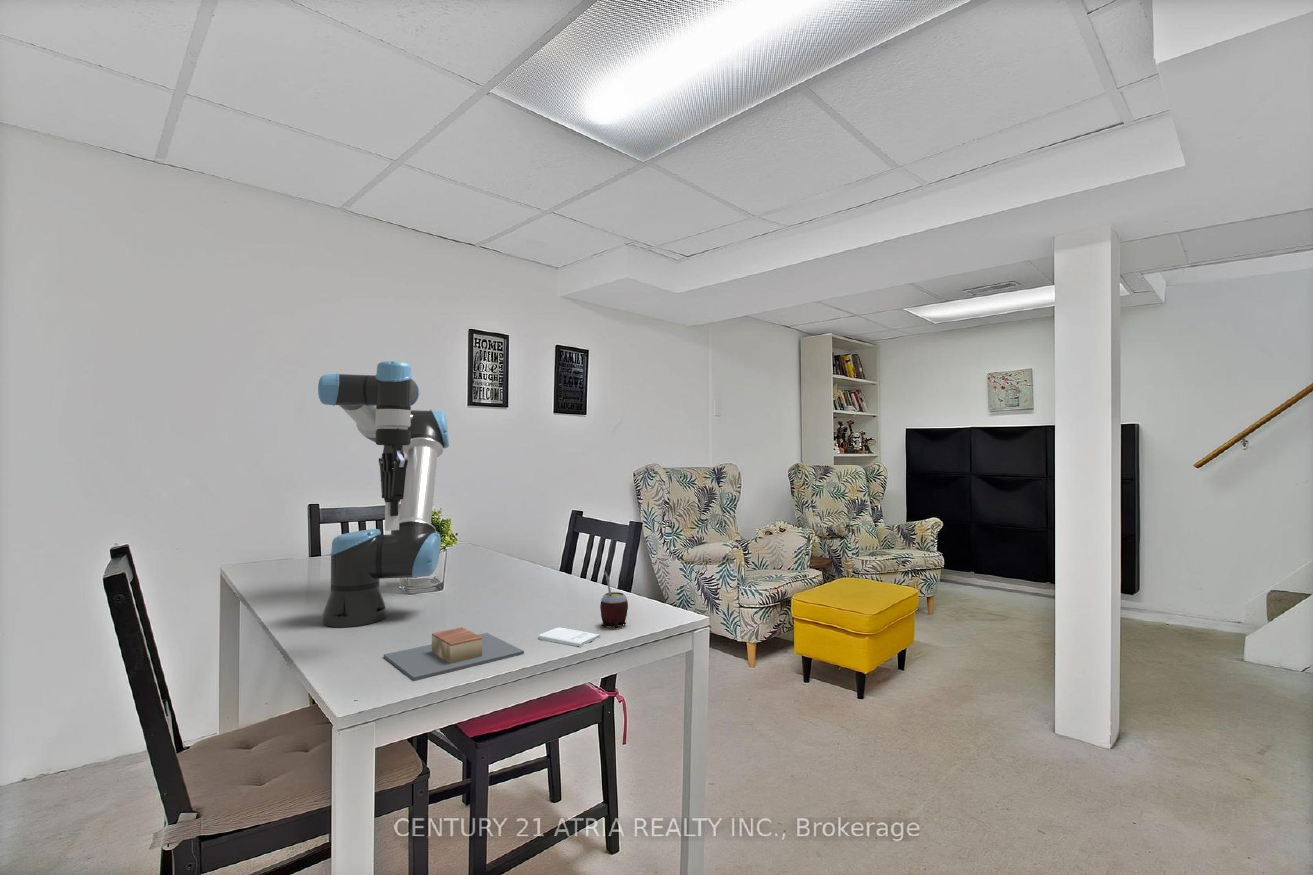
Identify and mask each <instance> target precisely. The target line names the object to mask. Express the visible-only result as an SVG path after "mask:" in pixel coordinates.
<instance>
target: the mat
mask: <svg viewBox="0 0 1313 875" xmlns="http://www.w3.org/2000/svg"><path fill="white" fill-rule="evenodd" d="M478 635H479V636H480V637H482V656H481V657H476V658H472V659H468V660H463V661H459V662H455V663H451V664H450V663H449V662H447V661H446V660H444V659H442V658H441V657H439V656H438V655H436V654H435V653H433V652H432V643H431V644H428V645H422V646H418V647H417V646H416V647H414V648H408V649H404V650H398V651H393V652H389V653H384V654H383V658H384V659H385V660H387V662H389V663H390V664H391V665H393V666H395V668H397V669H398V670H399V671H401V672H402V673H404V675H406V676H407V677H409V678H410V679H411V680H413V681H418V680H423V679H427V678H430V677H436V676H439V675H443V674H447V673H451V672H455V671H460V670H463V669H467V668H471V667H476V666H479V665H483V664H488V663H491V662H492V663H493V662H496V661H499V660H504V659H508V658H512V657H516V656H520V655H524V654H525V650H524V649H521V648H519V647H517V646H515V645H512V644H511V643H509V642H506V641H505V640H502V639H501V638H499V637H496V636H494V635H493V634H490V633H488V632H485V633H480V634H478Z"/></svg>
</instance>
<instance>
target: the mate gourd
mask: <svg viewBox="0 0 1313 875" xmlns="http://www.w3.org/2000/svg"><path fill="white" fill-rule="evenodd" d="M603 574H604V575H605V577H606V578H605V579H606V584H607V589H608V592H607V593H604V595H603V596H602V597H601V600H600V606H599V608H600V617H601V621H602V624H601V627H602V626H603V627H602V628H607V627H606V626H611V627H613V626H614V627H615V628H620V626H618V625H621V626H624V625H623V624H626V625H627V622H626V619H627V616H628V610H629V603H628V597H627V596H626V594H624V593H623V592H617V591H615V592H614V591H612V590H611V584H610V576H609V575H608V573H607V572H606V570H603ZM611 591H612V592H611ZM614 627H613V628H614ZM615 628H614V629H615Z"/></svg>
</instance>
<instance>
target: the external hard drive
mask: <svg viewBox="0 0 1313 875" xmlns="http://www.w3.org/2000/svg"><path fill="white" fill-rule="evenodd" d="M599 637H600V638H601V634H597V633H593V632H587V631H582V630H577V629H572V628H571V629H570V628H564V627H559V626H558V627H555V628H552V629H550V630H548V631H545V632H542V633H541V634H538V636H537V640H539V639H540V641H544V640H545V642H550V641H553V642H552V643H555V642H558V643H557V644H560V643H562V644H561V645H566V644H570V645H569V646H571V645H574V646H573V647H576V646H579V647H578V648H582V647H584V646H583V645H584V644H587V643H589V642H590V643H591V641H593V642H595V641H596V640H595V639H597V638H599ZM600 638H599V639H600ZM594 640H595V641H594ZM597 640H598V639H597ZM590 643H589V644H590ZM587 645H588V644H587ZM581 646H582V647H581Z"/></svg>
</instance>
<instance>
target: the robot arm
mask: <svg viewBox="0 0 1313 875" xmlns="http://www.w3.org/2000/svg"><path fill="white" fill-rule="evenodd" d="M412 378H413V373H412V365H410V364H409V363H407V362H404V361H403V362H402V361H395V360H394V361H393V360H391V361H390V360H388V361H380V362H379V363H377V365H376V374H375V375H374V374H373V375H372V374H370V375H369V374H368V375H367V374H346V373H345V374H344V373H343V374H342V373H327V374H323V375H321V376H320V378H319V380H318V384H317V395H318V399H319V401H320V403H321V404H323V405H326V406H328V405H329V406H332V407H335V406H339V407H340V408H341V409H342V410H343V411H344V412H345V413H346V414H347V415H348V416H349V417H350V418H351V419H352V420H353V421H354V422H355V423H356V428H357V430H358V431H359V433H360V434H361V435H362V436H363V437H364V438H367V439H368V440H370V442H374V443H375V444H376V446H383V450H382V451H383V452H382V453H381V457H379V458H378V465H379V473H380V488H381V499H384V500H383V501H384V503H385V505H384V506H385V507H384V531H386V532H387V531H388V532H389V531H390V534H389V533H388V534H381V533H382V531H381V530H380V529H378V528H374V529H372V528H370V529H364V530H358V531H351V532H346V533H342V534H340V535H337V536H335V537H334V538H333V539H332V541H331V552H330V593H329V597H328V599H327V602H326V604H325V607H324V609H323V614H322V624H323V625H324V626H328V627H333V628H334V627H335V628H346V627H347V628H348V627H350V628H351V627H357V626H365V625H369V624H373V623H377V622H380V621H382V620H384V619H385V618H386V617H387V606H386V603H385V600H384V597H383V595H382V592H381V591H382V590H381V589H380V580H381V579H382V580H383V579H385V580H386V579H406V578H407V579H409V578H411V579H413V578H414V579H418V578H421V577H422V578H423V577H430V576H432V575H433V574H434V572H435V571H436V569H437V567H438V564H439V559H440V554H441V543H442V542H441V541H442V538H441V534H439V533H437V529H436V528H435V525H433V524H432V516H433V504H434V494H435V483H436V473H437V472H436V471H437V463H438V462H437V461H438V458H439V457H440V456H441V455H442V454H443V452H444V449H446V448H449V446H450V442H449V430H448V422H447V414H446V413H445V412H444V411H441V410H433V409H429V410H419V409H418V410H417V409H415V410H414V409H412V407H411V406H413V405H415V404H416V403H417V401H418V400H419V398H420V389H419V386H418V384H417V382H416V381H415V380H414V379H412ZM405 455H406V457H405Z"/></svg>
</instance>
